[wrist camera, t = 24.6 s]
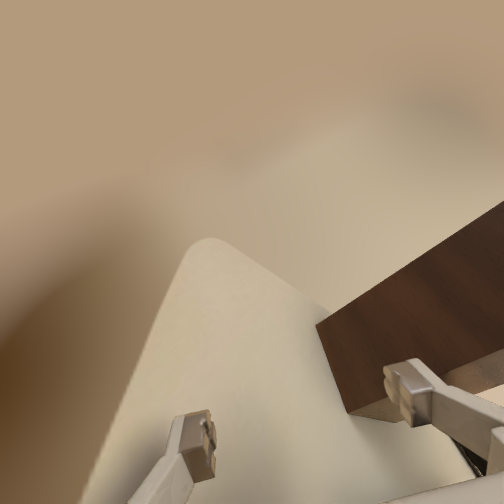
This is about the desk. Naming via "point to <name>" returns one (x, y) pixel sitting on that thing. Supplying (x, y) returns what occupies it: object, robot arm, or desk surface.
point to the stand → (425, 321)
